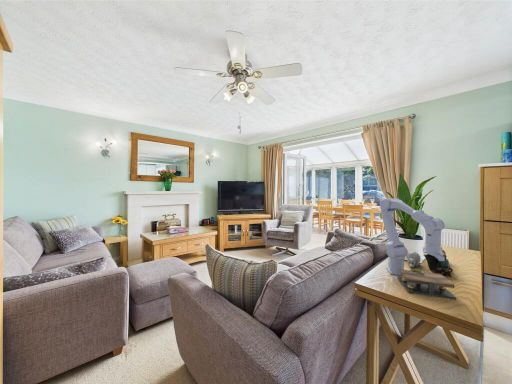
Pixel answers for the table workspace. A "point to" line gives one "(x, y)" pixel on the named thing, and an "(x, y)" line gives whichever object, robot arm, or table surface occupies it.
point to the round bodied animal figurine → (413, 259)
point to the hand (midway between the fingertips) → (432, 270)
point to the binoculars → (443, 267)
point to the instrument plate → (425, 278)
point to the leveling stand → (426, 289)
